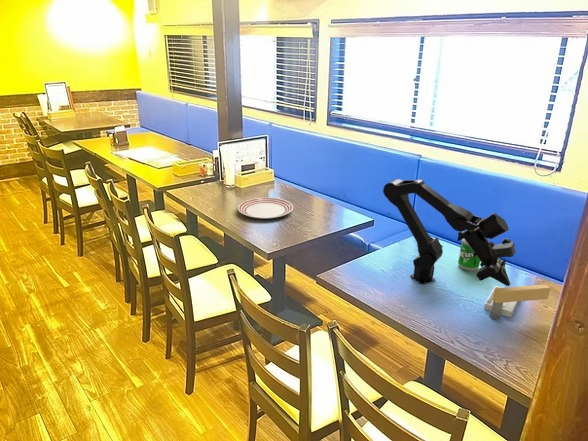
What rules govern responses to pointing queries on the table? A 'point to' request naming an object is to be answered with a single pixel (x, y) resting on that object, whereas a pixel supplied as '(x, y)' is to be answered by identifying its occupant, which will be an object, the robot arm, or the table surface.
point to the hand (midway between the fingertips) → (509, 285)
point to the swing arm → (516, 296)
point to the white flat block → (506, 308)
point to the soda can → (467, 257)
